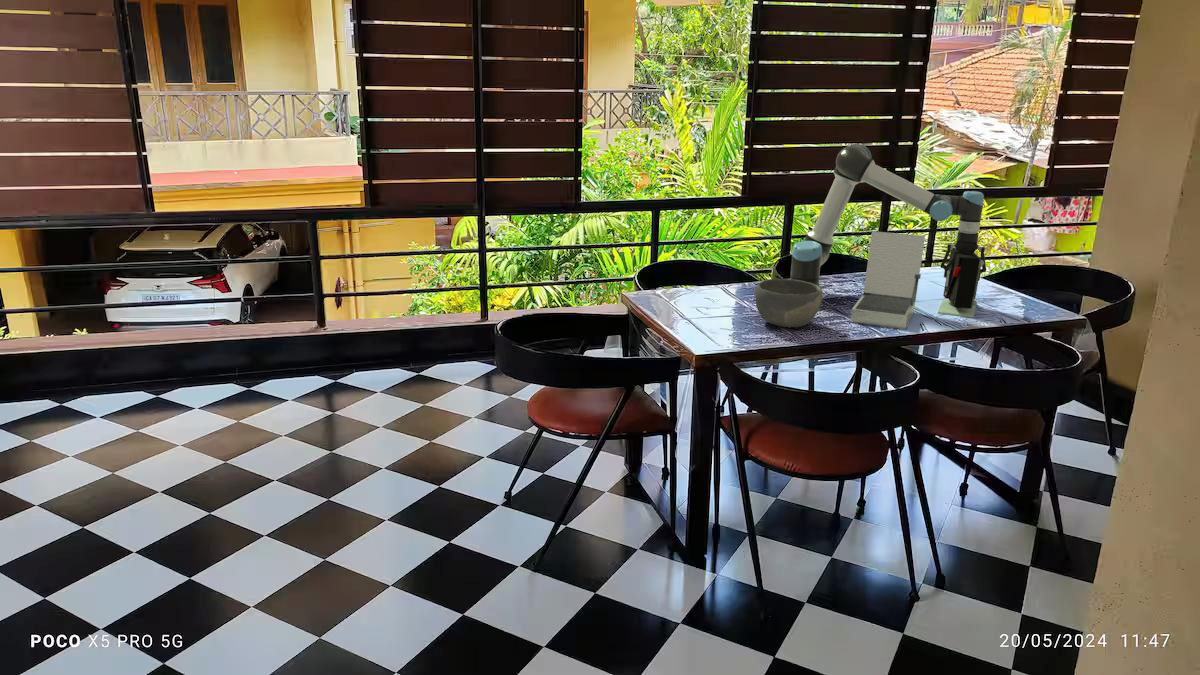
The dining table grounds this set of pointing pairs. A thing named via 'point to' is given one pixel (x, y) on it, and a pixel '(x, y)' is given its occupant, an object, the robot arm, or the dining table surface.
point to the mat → (955, 309)
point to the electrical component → (963, 279)
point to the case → (890, 280)
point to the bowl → (788, 301)
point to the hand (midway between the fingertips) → (960, 287)
